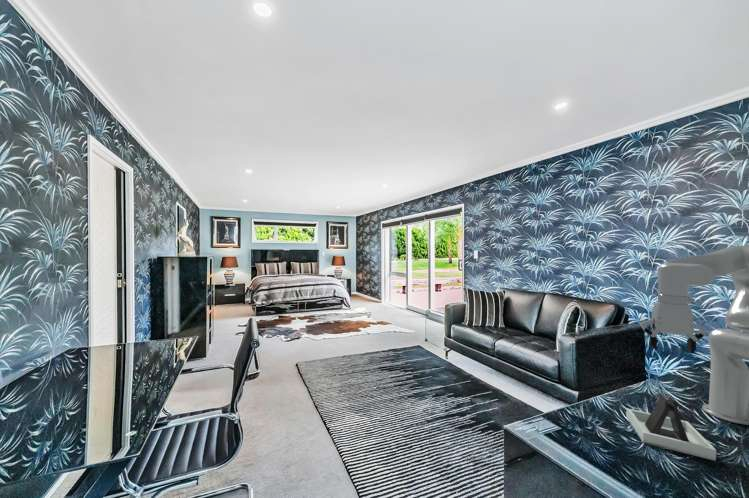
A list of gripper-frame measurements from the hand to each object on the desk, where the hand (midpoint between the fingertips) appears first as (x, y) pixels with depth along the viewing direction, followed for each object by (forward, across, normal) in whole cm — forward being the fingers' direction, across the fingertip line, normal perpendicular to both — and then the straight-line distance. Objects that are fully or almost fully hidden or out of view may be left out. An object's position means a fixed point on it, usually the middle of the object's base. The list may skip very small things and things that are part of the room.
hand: (671, 349), depth 106 cm
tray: (+25, +5, +12) cm, 28 cm away
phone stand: (+24, +5, +12) cm, 27 cm away
